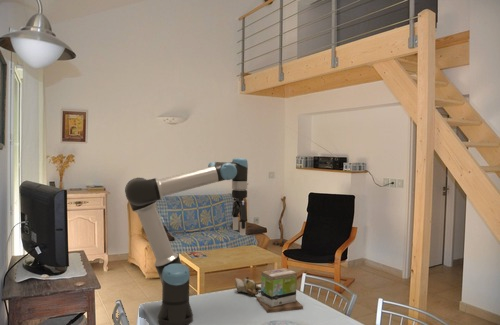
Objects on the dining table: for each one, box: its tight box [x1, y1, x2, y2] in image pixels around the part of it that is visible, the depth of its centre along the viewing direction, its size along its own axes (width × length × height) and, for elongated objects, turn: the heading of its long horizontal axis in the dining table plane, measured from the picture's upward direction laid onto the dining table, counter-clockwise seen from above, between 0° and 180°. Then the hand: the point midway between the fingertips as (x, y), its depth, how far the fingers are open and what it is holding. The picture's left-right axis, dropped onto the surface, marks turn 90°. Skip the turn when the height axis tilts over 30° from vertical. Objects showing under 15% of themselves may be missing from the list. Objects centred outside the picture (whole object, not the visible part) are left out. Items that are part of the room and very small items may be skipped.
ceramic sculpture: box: [234, 276, 261, 296], centre depth 213 cm, size 11×9×15 cm
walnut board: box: [256, 296, 304, 314], centre depth 197 cm, size 18×17×2 cm
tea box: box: [260, 267, 298, 307], centre depth 197 cm, size 15×10×15 cm, turn 124°
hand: (238, 232), depth 198 cm, fingers open, 13 cm apart
